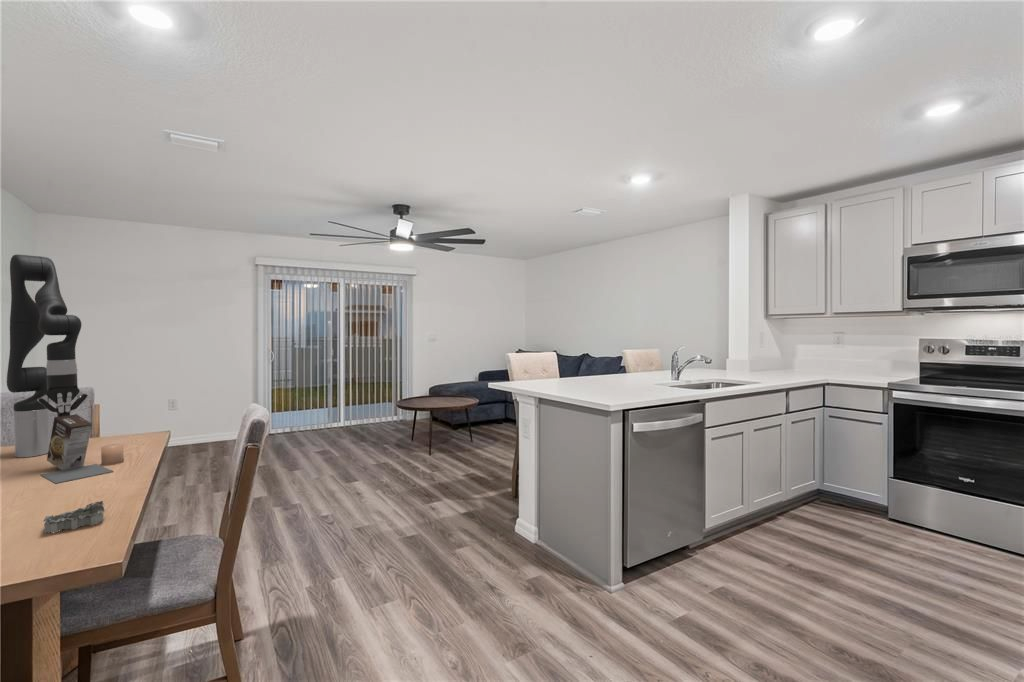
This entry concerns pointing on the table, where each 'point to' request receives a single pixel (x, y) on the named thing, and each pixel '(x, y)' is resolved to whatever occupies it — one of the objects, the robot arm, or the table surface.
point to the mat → (76, 473)
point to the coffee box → (69, 441)
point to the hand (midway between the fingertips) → (63, 423)
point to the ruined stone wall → (75, 518)
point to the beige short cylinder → (112, 454)
